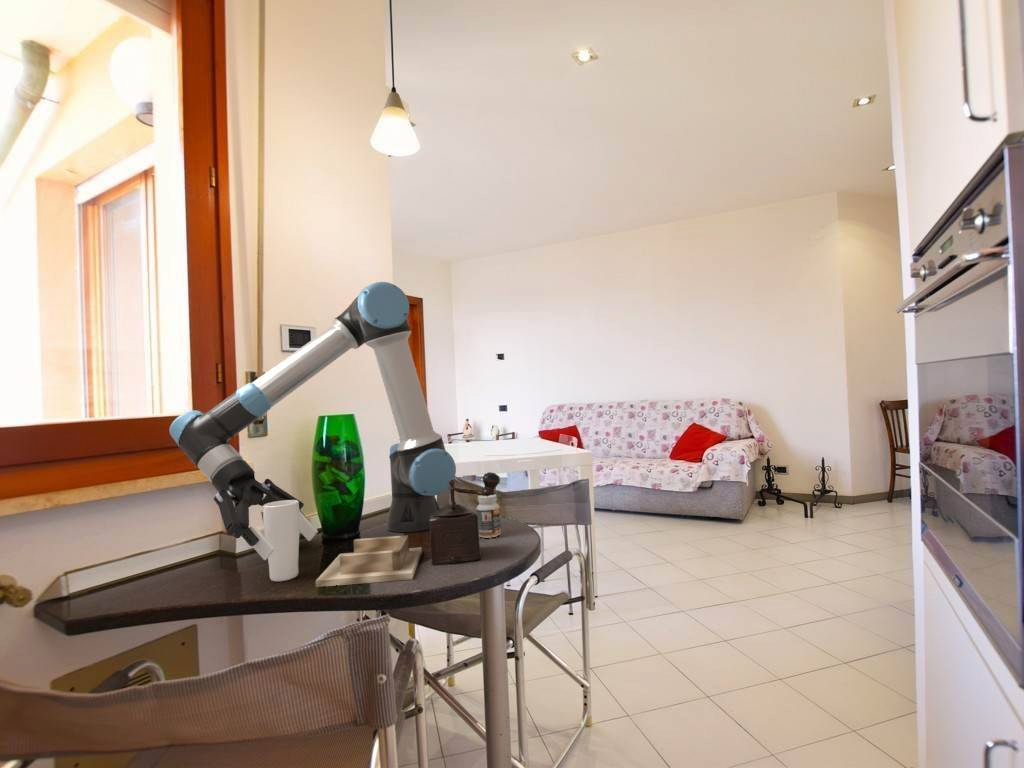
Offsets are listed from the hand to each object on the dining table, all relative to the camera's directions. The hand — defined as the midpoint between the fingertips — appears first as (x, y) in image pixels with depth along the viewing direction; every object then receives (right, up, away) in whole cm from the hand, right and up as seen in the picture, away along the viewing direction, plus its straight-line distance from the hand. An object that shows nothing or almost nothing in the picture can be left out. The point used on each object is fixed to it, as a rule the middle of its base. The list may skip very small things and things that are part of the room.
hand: (293, 545), depth 106 cm
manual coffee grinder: (+34, -5, +9) cm, 36 cm away
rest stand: (+15, -6, +3) cm, 17 cm away
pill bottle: (+38, -5, +24) cm, 46 cm away
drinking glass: (-2, -7, 0) cm, 7 cm away
